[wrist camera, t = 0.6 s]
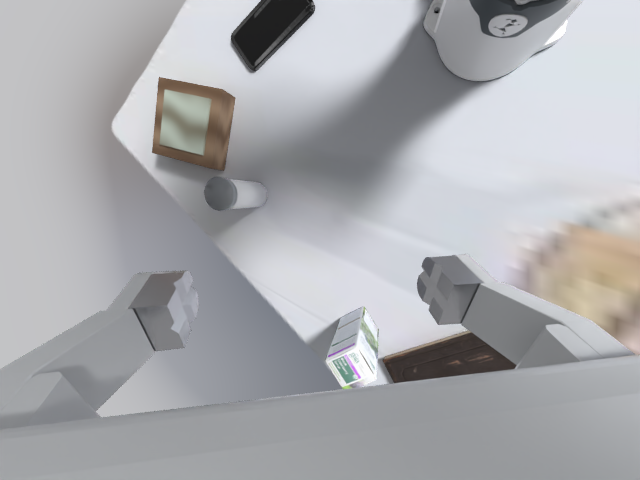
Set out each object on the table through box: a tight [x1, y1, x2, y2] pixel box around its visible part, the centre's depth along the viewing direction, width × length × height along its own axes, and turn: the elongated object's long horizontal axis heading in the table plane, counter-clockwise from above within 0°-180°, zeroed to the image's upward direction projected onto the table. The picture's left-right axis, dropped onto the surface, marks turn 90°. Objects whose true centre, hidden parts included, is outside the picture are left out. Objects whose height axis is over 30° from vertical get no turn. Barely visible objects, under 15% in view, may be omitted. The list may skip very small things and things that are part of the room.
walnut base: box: [152, 77, 235, 171], centre depth 50 cm, size 14×14×4 cm
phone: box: [231, 0, 315, 71], centre depth 45 cm, size 8×1×15 cm
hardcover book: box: [383, 331, 517, 383], centre depth 46 cm, size 16×23×2 cm
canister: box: [204, 177, 267, 211], centre depth 46 cm, size 5×5×12 cm
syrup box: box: [325, 306, 379, 389], centre depth 43 cm, size 6×6×14 cm
